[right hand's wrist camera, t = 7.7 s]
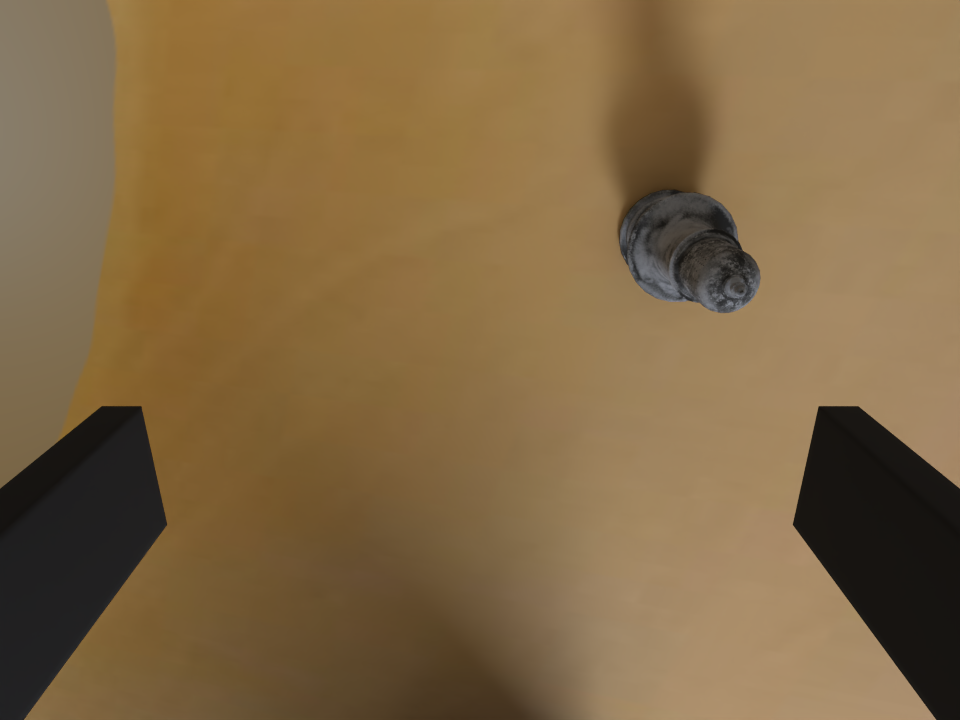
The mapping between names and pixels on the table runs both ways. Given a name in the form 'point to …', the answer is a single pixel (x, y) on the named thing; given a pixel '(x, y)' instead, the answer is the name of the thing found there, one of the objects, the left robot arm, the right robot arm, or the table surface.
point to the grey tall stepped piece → (688, 251)
